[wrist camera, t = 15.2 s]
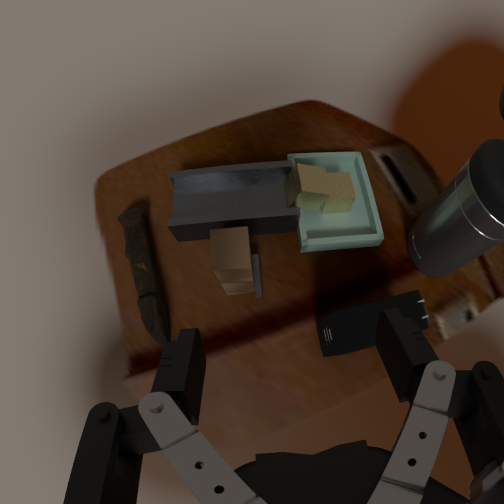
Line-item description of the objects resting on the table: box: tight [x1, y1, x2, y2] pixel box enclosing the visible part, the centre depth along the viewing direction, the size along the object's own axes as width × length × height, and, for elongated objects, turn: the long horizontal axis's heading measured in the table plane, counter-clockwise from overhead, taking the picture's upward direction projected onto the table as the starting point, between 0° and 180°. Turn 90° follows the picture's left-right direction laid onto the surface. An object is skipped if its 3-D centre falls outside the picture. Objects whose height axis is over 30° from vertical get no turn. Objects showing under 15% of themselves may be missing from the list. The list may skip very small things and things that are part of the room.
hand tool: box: [118, 207, 170, 348], centre depth 38 cm, size 19×4×5 cm, turn 17°
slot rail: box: [168, 160, 301, 242], centre depth 41 cm, size 16×8×5 cm, turn 94°
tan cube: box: [320, 172, 356, 214], centre depth 40 cm, size 4×4×4 cm
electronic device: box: [317, 290, 429, 357], centre depth 32 cm, size 4×10×10 cm, turn 100°
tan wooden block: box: [210, 226, 262, 298], centre depth 34 cm, size 4×5×12 cm
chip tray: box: [287, 152, 384, 253], centre depth 42 cm, size 11×14×2 cm
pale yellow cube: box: [284, 163, 331, 210], centre depth 39 cm, size 4×4×4 cm
